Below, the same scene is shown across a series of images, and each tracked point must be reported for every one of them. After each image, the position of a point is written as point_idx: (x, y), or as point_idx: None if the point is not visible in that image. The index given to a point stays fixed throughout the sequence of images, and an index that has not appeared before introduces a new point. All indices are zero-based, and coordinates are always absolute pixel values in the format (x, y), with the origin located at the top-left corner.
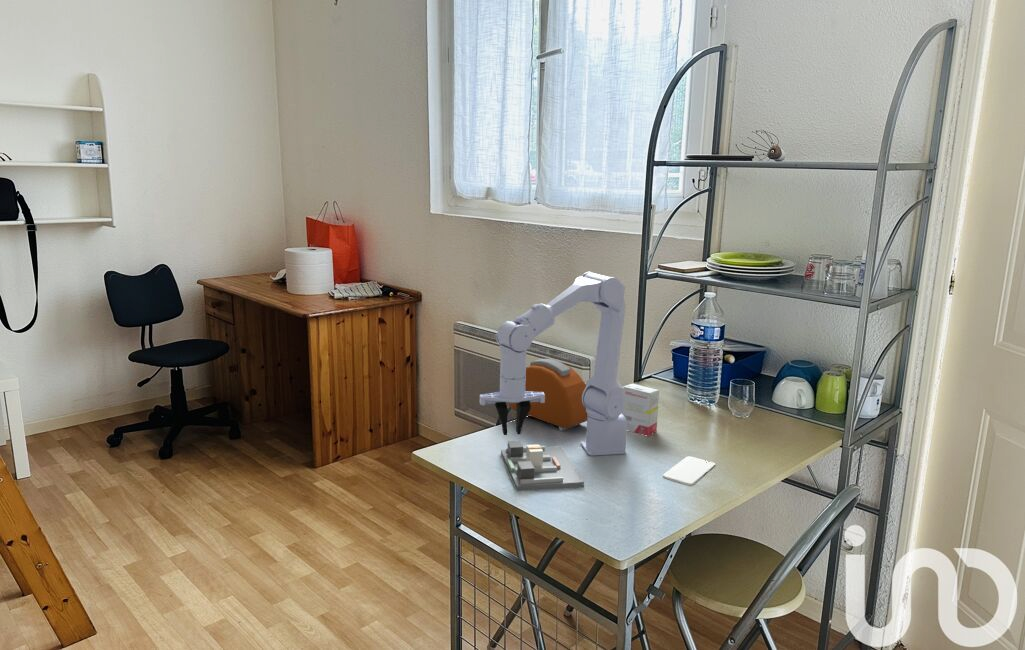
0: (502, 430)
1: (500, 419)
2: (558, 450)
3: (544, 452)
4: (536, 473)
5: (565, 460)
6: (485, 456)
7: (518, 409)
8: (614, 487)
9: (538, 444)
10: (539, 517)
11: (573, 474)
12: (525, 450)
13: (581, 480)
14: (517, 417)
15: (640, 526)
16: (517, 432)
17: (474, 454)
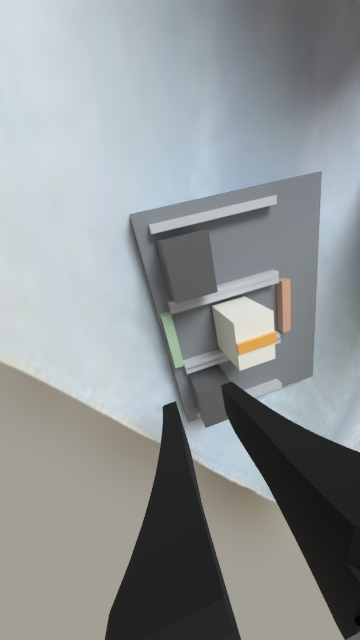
0: (163, 412)
1: (160, 464)
2: (306, 206)
3: (266, 226)
4: (230, 361)
5: (306, 278)
6: (79, 236)
7: (312, 540)
8: (350, 359)
9: (271, 312)
10: (219, 471)
11: (303, 349)
12: (213, 219)
13: (309, 371)
14: (265, 450)
15: None
16: (228, 417)
17: (33, 221)
